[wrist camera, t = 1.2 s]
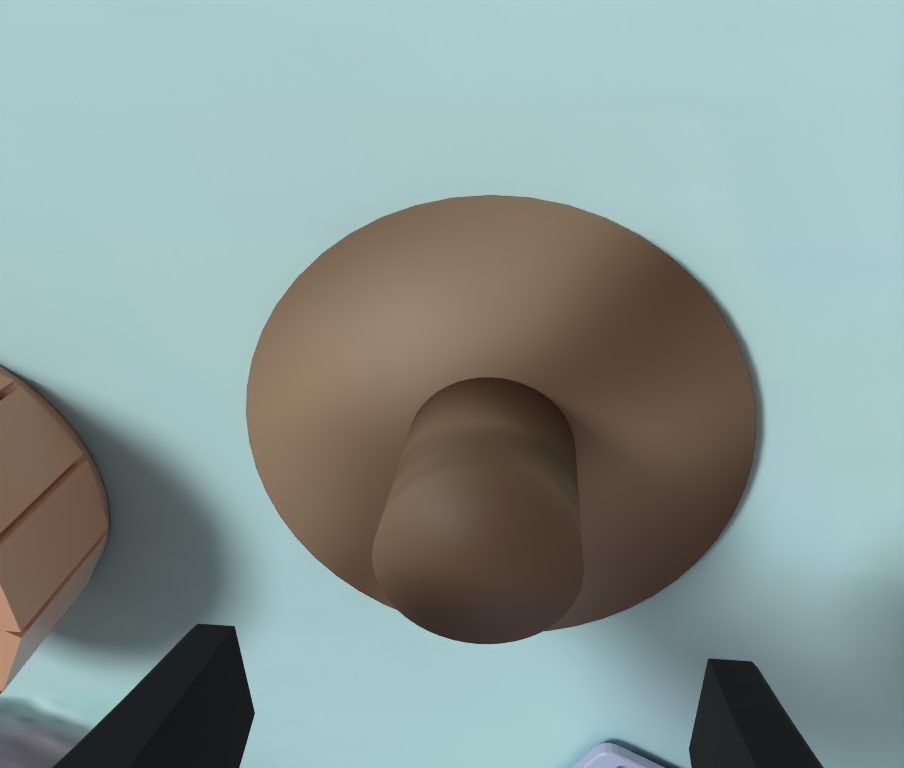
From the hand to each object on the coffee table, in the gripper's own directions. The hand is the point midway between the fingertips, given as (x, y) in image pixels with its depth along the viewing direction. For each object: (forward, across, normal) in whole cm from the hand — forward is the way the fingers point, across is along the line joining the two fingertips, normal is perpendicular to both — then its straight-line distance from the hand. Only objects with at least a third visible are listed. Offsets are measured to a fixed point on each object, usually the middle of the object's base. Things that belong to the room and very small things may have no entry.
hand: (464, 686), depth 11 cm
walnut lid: (+7, 0, 0) cm, 7 cm away
